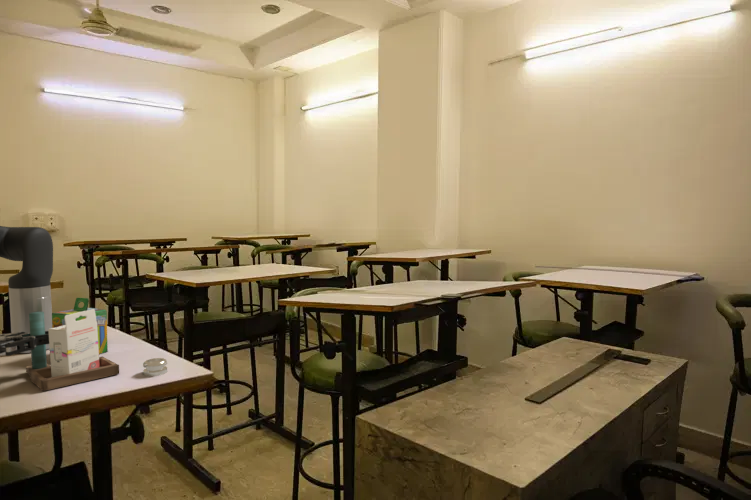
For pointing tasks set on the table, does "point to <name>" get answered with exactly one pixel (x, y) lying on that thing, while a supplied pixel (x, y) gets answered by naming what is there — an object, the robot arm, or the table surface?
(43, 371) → the wooden display tray
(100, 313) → the chalk box
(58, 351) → the ink cartridge box
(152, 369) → the metal grooved wheel
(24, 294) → the robot arm
